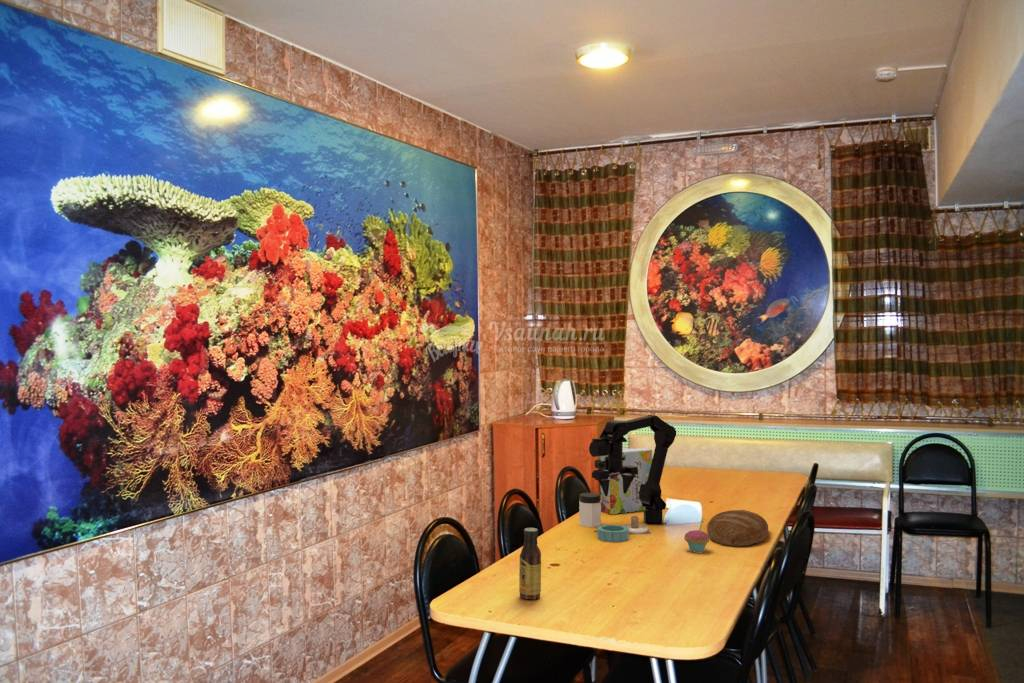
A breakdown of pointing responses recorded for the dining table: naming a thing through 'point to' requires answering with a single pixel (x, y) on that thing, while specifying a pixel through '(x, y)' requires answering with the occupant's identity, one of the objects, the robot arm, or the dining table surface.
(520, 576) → the sauce bottle
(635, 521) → the lid
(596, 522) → the jar
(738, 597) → the dining table surface
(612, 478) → the snack box
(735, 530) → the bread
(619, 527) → the bowl
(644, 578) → the dining table surface
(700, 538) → the cupcake
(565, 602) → the dining table surface
